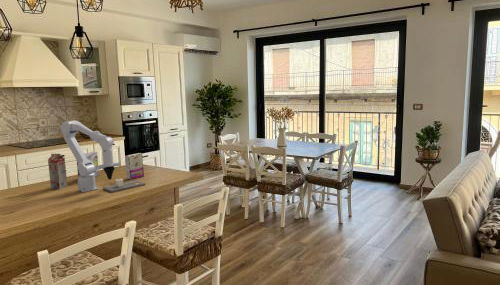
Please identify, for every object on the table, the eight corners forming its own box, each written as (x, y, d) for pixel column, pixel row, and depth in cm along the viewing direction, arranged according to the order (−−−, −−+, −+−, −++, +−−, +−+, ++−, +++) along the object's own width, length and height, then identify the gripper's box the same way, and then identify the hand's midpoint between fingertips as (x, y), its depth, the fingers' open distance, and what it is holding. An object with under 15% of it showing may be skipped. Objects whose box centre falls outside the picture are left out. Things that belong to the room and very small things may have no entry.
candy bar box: (139, 175, 256) (138, 152, 253) (144, 176, 253) (142, 153, 250) (126, 178, 247) (124, 155, 245) (130, 179, 244) (128, 156, 242)
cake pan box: (83, 182, 240) (81, 156, 237) (76, 182, 241) (74, 156, 238) (99, 175, 259) (97, 151, 256) (93, 175, 260) (91, 151, 257)
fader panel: (111, 192, 214) (111, 190, 213) (103, 189, 222) (103, 187, 222) (145, 185, 229) (144, 183, 229) (135, 182, 237) (135, 180, 237)
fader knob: (118, 187, 221) (118, 180, 220) (115, 185, 224) (115, 179, 223) (123, 185, 223) (123, 179, 222) (120, 184, 226) (120, 178, 225)
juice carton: (60, 189, 224) (56, 154, 221) (51, 188, 225) (47, 154, 222) (67, 186, 231) (64, 152, 227) (58, 186, 232) (55, 152, 229)
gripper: (98, 159, 208) (100, 182, 210) (122, 156, 218) (124, 177, 220) (93, 158, 213) (95, 180, 215) (117, 154, 223) (118, 176, 225)
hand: (109, 179), depth 218 cm, fingers closed
